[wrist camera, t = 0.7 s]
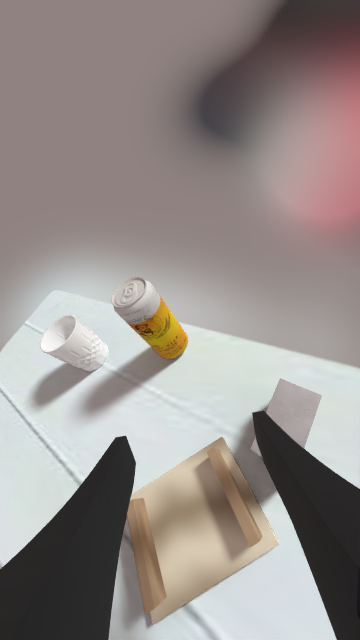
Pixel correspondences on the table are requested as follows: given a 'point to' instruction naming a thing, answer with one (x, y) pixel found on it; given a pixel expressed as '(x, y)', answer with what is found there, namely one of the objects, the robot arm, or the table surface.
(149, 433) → the table surface
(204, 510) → the birch cradle
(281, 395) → the aluminium block
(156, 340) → the beer can
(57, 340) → the white cup
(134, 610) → the table surface
